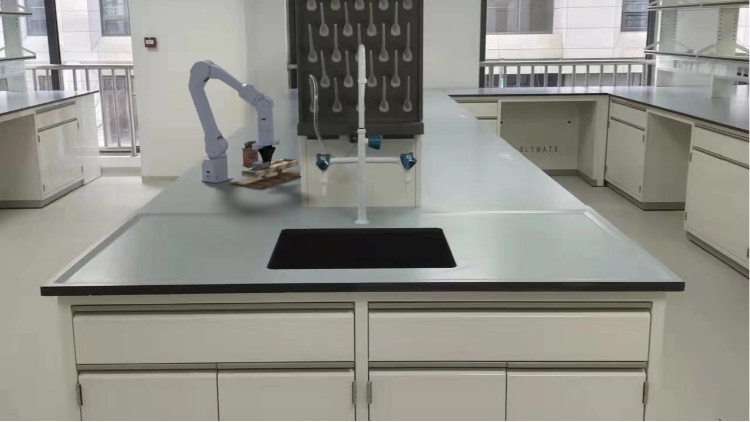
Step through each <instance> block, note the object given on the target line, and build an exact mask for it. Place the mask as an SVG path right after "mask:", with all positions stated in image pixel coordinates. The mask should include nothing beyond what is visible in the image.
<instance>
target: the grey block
mask: <svg viewBox="0 0 750 422" xmlns="http://www.w3.org/2000/svg"><path fill="white" fill-rule="evenodd" d="M251 167H252V168H253V171H261V170H264V169H268V168H270V165H269V161H263V160H262V159H261V160H258V161H257V162H254V163H252V166H251Z"/></svg>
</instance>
